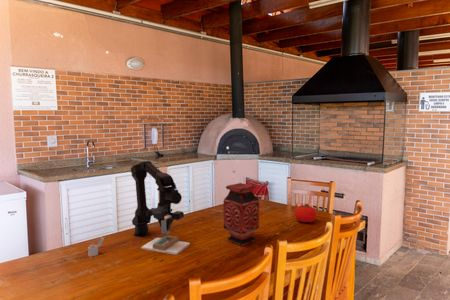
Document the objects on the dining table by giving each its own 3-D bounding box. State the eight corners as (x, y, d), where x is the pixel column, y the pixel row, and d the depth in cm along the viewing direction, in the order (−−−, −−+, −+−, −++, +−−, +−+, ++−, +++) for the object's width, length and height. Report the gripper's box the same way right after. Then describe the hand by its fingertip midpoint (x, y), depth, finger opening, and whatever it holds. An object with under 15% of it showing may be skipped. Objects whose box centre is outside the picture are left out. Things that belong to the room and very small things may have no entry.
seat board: (141, 248, 171) (141, 242, 170) (156, 239, 184) (156, 233, 183) (176, 255, 164) (176, 248, 163) (189, 244, 176) (189, 238, 176)
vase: (240, 234, 192) (241, 182, 189) (259, 241, 182) (260, 186, 179) (222, 240, 182) (223, 185, 179) (241, 248, 172) (242, 190, 169)
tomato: (318, 221, 216) (318, 204, 215) (311, 226, 206) (312, 209, 205) (298, 217, 224) (298, 201, 222) (291, 222, 213) (291, 206, 212)
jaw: (154, 246, 170) (154, 243, 170) (164, 239, 179) (164, 236, 179) (156, 246, 170) (156, 243, 169) (167, 240, 179) (167, 236, 179)
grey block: (161, 233, 172) (161, 220, 171) (164, 231, 175) (164, 218, 174) (166, 234, 171) (166, 220, 170) (169, 232, 174) (169, 219, 173)
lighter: (89, 256, 161) (88, 240, 160) (88, 255, 162) (87, 239, 161) (104, 253, 165) (103, 237, 164) (103, 252, 166) (102, 236, 165)
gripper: (139, 202, 167) (140, 232, 169) (173, 206, 160) (173, 238, 162) (152, 197, 177) (153, 225, 179) (184, 200, 171) (184, 230, 172)
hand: (165, 230), depth 173 cm, fingers closed on grey block, 3 cm apart
